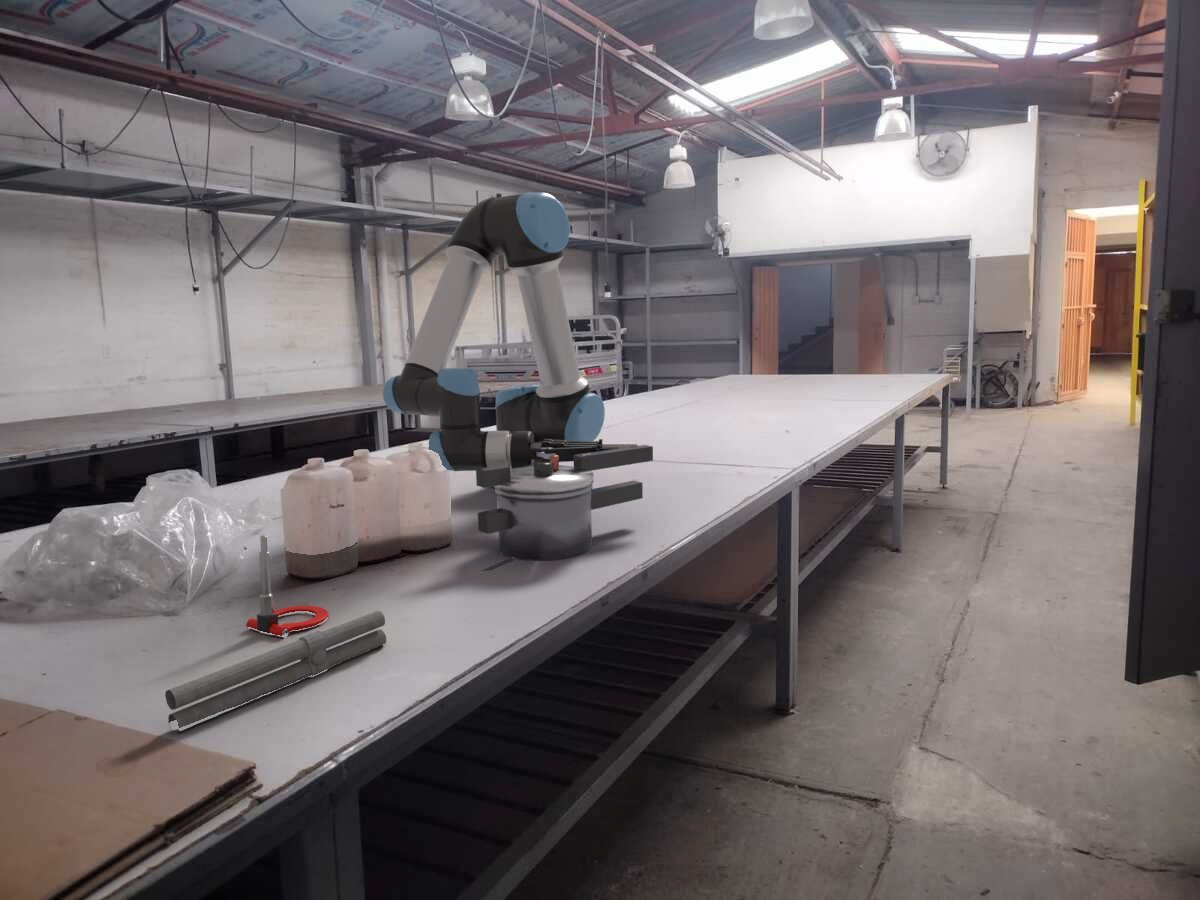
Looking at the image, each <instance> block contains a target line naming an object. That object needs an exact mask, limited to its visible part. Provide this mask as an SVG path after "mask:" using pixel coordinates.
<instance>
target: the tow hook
mask: <svg viewBox="0 0 1200 900" xmlns="http://www.w3.org/2000/svg"><path fill="white" fill-rule="evenodd" d="M259 537H260V538H259V539H260V541H259V542H260V551H259V553H258V554H259V557H258V558H259V573H260V578H259V579H260V593H261V594H260V595H259V597H258V599H259V613H258V614H256V618H249V619H248V620H247V621H246V626H245V627H246V628H247V627H251V628H254V629H257V630H259V631H263V632H267V633H272V634H275V635H280V636H282V635H284V634H285V633H286V634H287V633H289V632H290V631H292V630H299V629H303V628H308V627H312V626H315V625H317V624H319V623H321V622H323V621H324V620H325V619H326V618H327V617H328V618H329V611H328V610H327V609H326V608H323V607H320V606H316V605H315V606H314V605H294V606H286V607H281V608H278V609H274V608H275V604H274V603H275V602H274V594H273V593H272V581H271V580H272V579H271V562H270V561H271V560H270V557H271V556H270V551H268V536H267V535H265V534H263V535H260V536H259ZM295 611H309V612H312V613H315V614H316V616H314V617H312V618H310V619H307V620H303V621H299V622H285V623H282V624H280V625H279V618H278V616H279V615H282V614H285V613H289V612H295ZM259 631H258V632H259ZM289 634H290V633H289Z"/></svg>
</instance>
